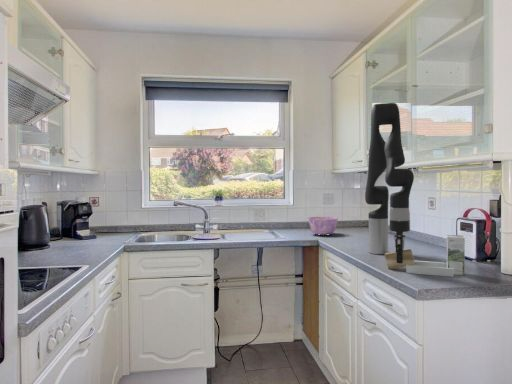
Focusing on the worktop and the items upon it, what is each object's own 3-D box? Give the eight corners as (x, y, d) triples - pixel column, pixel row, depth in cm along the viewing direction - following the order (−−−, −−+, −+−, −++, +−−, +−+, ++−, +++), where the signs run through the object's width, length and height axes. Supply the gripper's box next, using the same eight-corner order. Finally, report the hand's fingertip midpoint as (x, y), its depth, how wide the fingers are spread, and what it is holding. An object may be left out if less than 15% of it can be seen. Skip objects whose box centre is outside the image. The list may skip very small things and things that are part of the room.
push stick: (388, 267, 148) (385, 253, 148) (414, 263, 144) (411, 249, 144) (388, 269, 145) (384, 254, 145) (414, 265, 141) (410, 250, 141)
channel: (394, 266, 151) (394, 259, 151) (451, 270, 142) (451, 262, 142) (392, 272, 141) (392, 264, 141) (453, 277, 132) (453, 269, 132)
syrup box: (463, 272, 138) (463, 234, 138) (464, 276, 133) (464, 237, 133) (446, 271, 141) (446, 234, 140) (447, 275, 135) (447, 236, 135)
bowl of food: (306, 236, 239) (305, 219, 239) (310, 232, 258) (310, 216, 258) (336, 237, 233) (336, 219, 233) (339, 233, 252) (339, 216, 252)
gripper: (390, 217, 152) (391, 258, 152) (388, 220, 139) (388, 265, 140) (410, 217, 149) (410, 259, 149) (409, 221, 136) (409, 266, 137)
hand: (399, 261), depth 145 cm, fingers open, 3 cm apart
